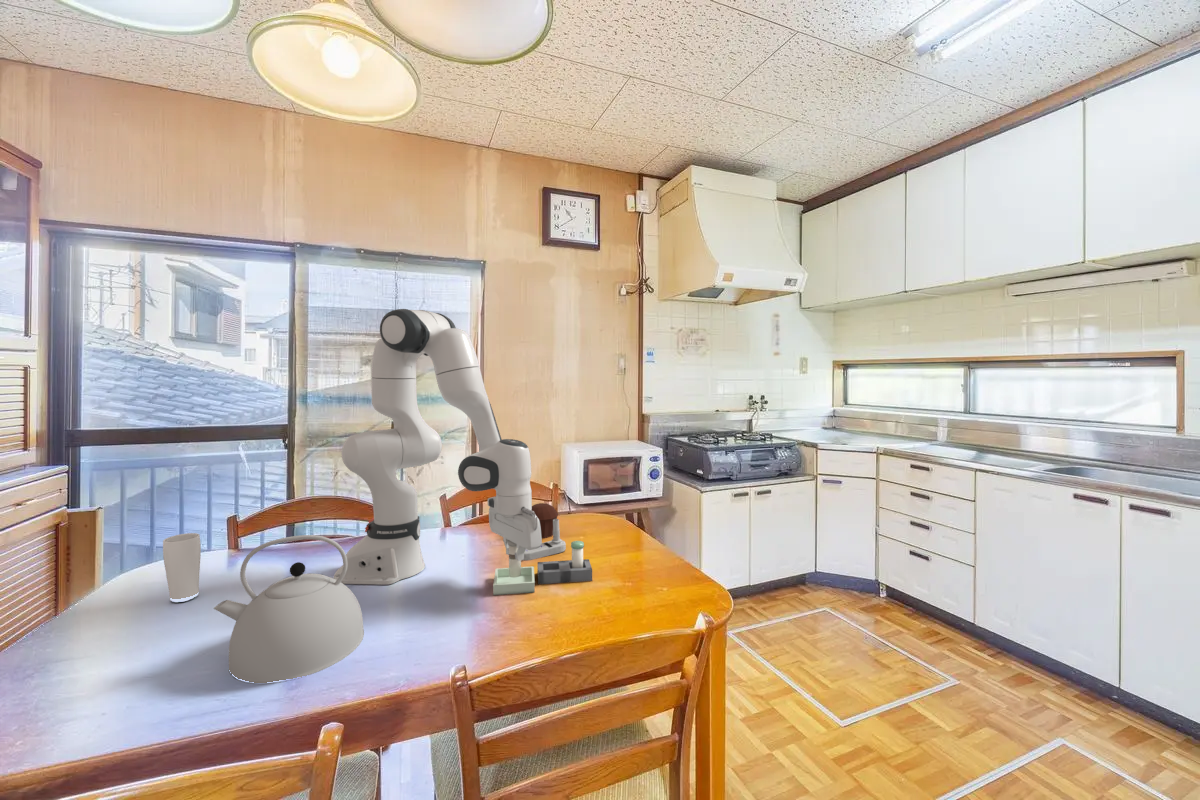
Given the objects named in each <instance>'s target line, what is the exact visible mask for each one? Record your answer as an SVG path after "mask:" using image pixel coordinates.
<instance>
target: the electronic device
mask: <svg viewBox="0 0 1200 800" xmlns="http://www.w3.org/2000/svg"><path fill="white" fill-rule="evenodd" d="M560 530H561V529H560V519H559V518H557V519H554V520H553V535H552V539H551V540H549V541H548V540H547V541H545V542H542V544H541V546H540V547H539V548H537V549H533V550H527V549H526V550H525V552H524V559H523V560H522V561H533V560H537V559H542V558H545V557H548V556H552V555H556V554H561V553H563V552H565V551H566V549H567V548H566V547H567V546H566V545H567V544H566V541H565V540H563V539H561V535H560V534H561V533H560Z"/></svg>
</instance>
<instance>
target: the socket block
mask: <svg viewBox="0 0 1200 800" xmlns="http://www.w3.org/2000/svg"><path fill="white" fill-rule="evenodd" d="M578 582H579V583H580V582H581V583H582V582H593V567H592V565H591V562H590V559H586V558H585V559H584V558H583V568H573V569H572V559H570V560H568V559H567V560H555V561H554V560H553V561H551V560H550V561H538V562H537V583H538V585H544V584H545V585H549V584H562V583H563V584H564V583H578Z"/></svg>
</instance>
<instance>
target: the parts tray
mask: <svg viewBox="0 0 1200 800" xmlns="http://www.w3.org/2000/svg"><path fill="white" fill-rule="evenodd" d="M535 583H536V581H535V566H532V565H531V566H521V576H519V577H510V576H509V567H502V568H495V572H494V577H493V584H492V591H493V592H492V594H493V596H500V595H501V596H502V595H503V596H504V595H515V594H517V595H518V594H519V595H520V594H530V593H531V594H532V593H535V588H536V587H535Z"/></svg>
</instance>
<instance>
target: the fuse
mask: <svg viewBox="0 0 1200 800" xmlns="http://www.w3.org/2000/svg"><path fill="white" fill-rule="evenodd" d="M584 546H585V543H584V541H582V540H573V541H571V542H570V547H571V560H572V569H573V568H583V560H584V548H585V547H584Z"/></svg>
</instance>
